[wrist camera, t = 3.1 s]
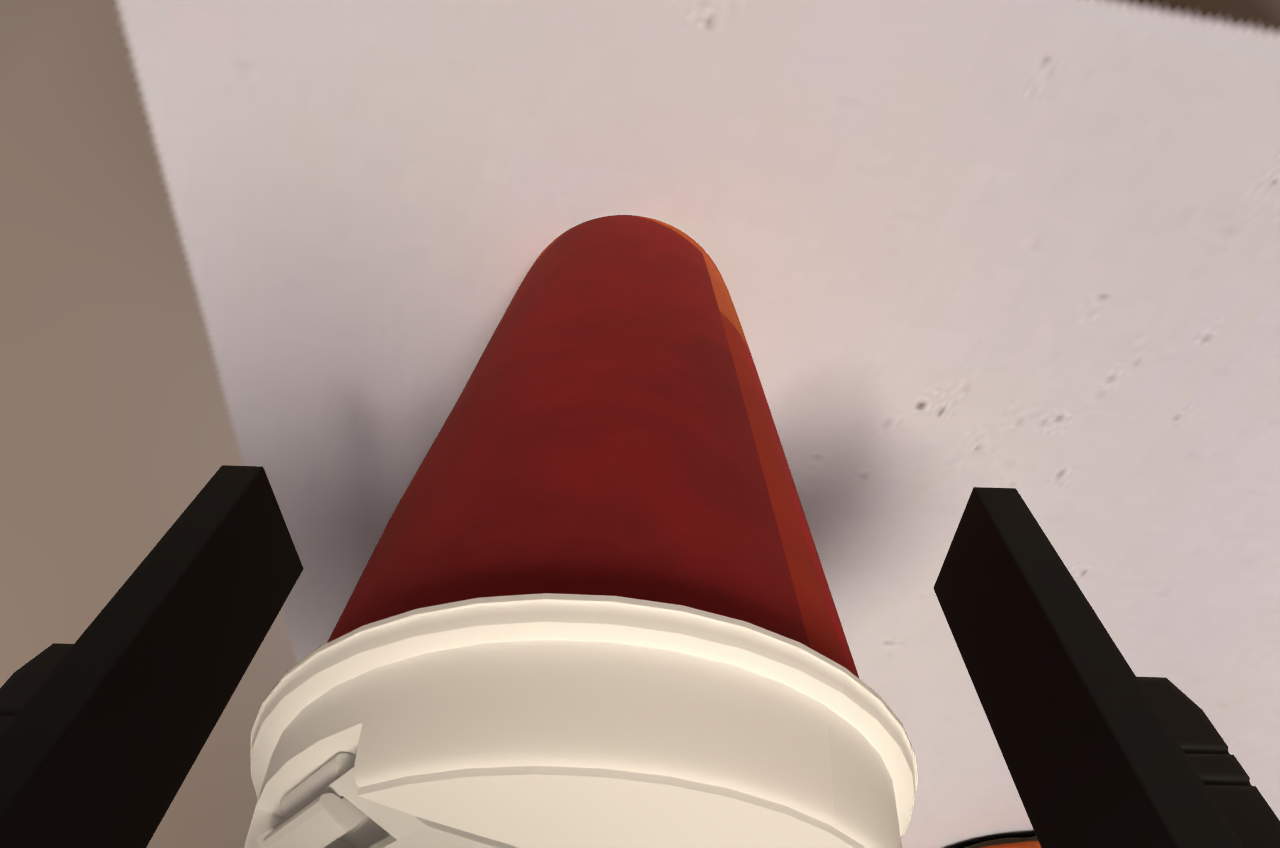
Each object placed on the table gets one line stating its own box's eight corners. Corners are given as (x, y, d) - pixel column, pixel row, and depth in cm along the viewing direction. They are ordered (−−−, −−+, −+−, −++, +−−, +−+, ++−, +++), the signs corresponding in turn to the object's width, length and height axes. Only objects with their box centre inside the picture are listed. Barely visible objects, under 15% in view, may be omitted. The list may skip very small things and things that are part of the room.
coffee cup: (427, 321, 20) (74, 932, 8) (611, 95, 16) (479, 597, 4) (638, 471, 23) (618, 1067, 11) (832, 311, 20) (1116, 945, 7)
